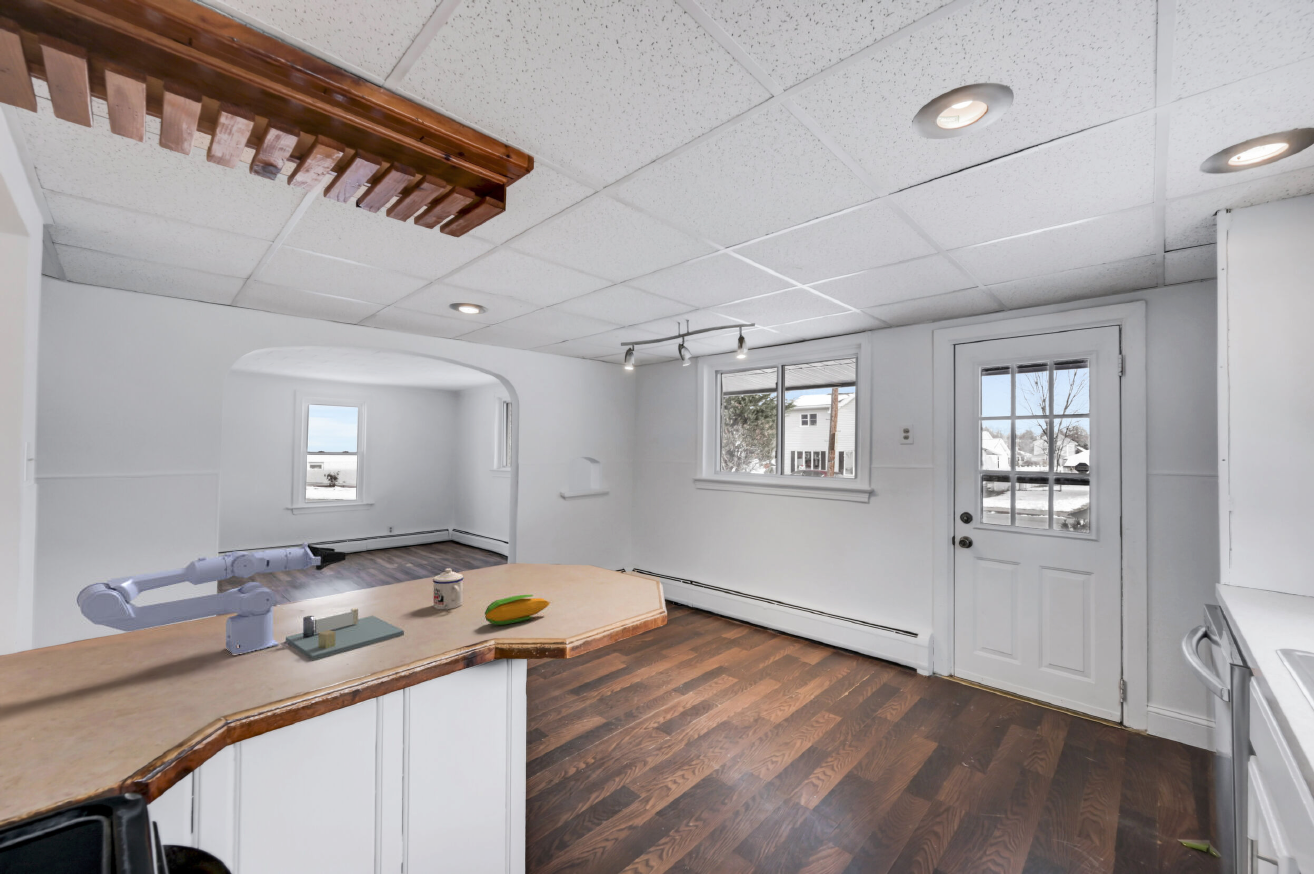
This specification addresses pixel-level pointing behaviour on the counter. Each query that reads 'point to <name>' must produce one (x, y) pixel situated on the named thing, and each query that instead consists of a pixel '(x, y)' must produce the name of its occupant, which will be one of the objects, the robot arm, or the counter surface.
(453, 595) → the teacup with lid
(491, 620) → the corn
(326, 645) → the gate posts
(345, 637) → the base board
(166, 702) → the counter surface
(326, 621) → the gate
